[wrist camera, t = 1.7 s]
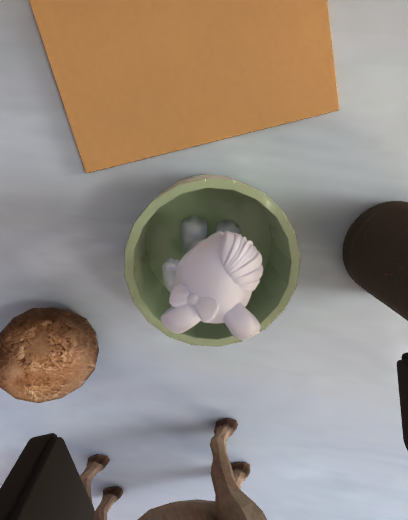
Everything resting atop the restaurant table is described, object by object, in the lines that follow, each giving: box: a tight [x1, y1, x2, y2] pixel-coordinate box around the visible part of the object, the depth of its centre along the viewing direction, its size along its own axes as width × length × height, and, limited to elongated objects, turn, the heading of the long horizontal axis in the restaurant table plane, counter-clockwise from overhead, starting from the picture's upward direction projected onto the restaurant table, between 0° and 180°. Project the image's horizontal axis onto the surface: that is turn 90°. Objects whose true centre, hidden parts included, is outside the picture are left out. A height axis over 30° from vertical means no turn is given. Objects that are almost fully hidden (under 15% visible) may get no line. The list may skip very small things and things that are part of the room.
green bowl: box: [124, 174, 300, 346], centre depth 25 cm, size 12×12×6 cm
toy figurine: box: [161, 216, 263, 340], centre depth 22 cm, size 7×6×12 cm
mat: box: [29, 0, 339, 173], centre depth 24 cm, size 20×12×1 cm, turn 103°
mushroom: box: [0, 308, 99, 403], centre depth 28 cm, size 8×8×6 cm
